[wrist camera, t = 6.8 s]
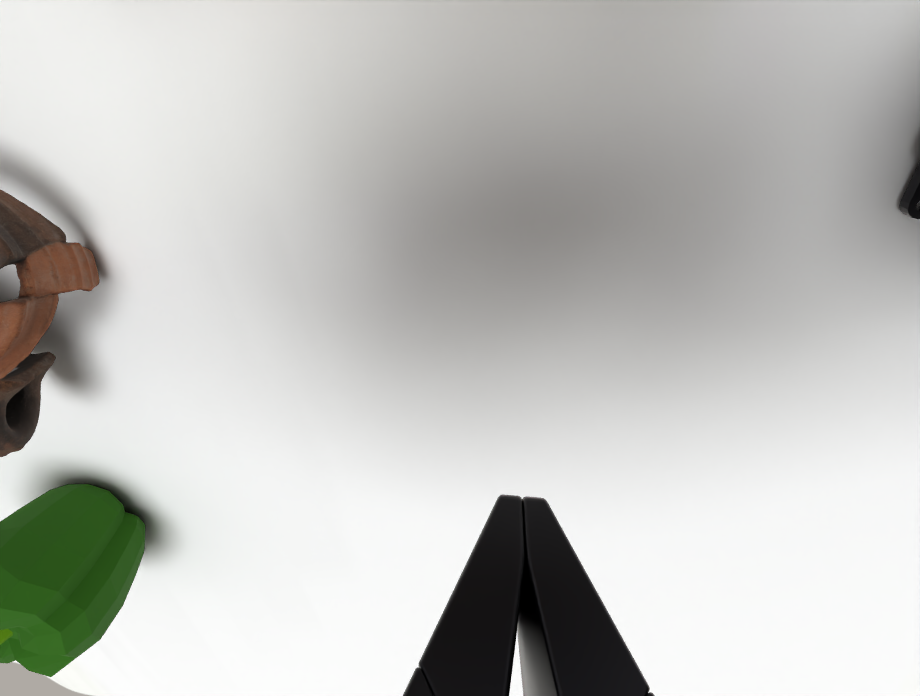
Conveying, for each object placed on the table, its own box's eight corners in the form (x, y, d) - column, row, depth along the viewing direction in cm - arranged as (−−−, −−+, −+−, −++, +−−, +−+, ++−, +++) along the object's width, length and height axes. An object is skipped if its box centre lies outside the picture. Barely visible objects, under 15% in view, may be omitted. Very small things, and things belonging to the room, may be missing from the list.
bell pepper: (154, 476, 28) (1, 661, 20) (179, 560, 33) (63, 740, 24) (13, 452, 28) (-200, 626, 20) (57, 539, 33) (-102, 712, 24)
